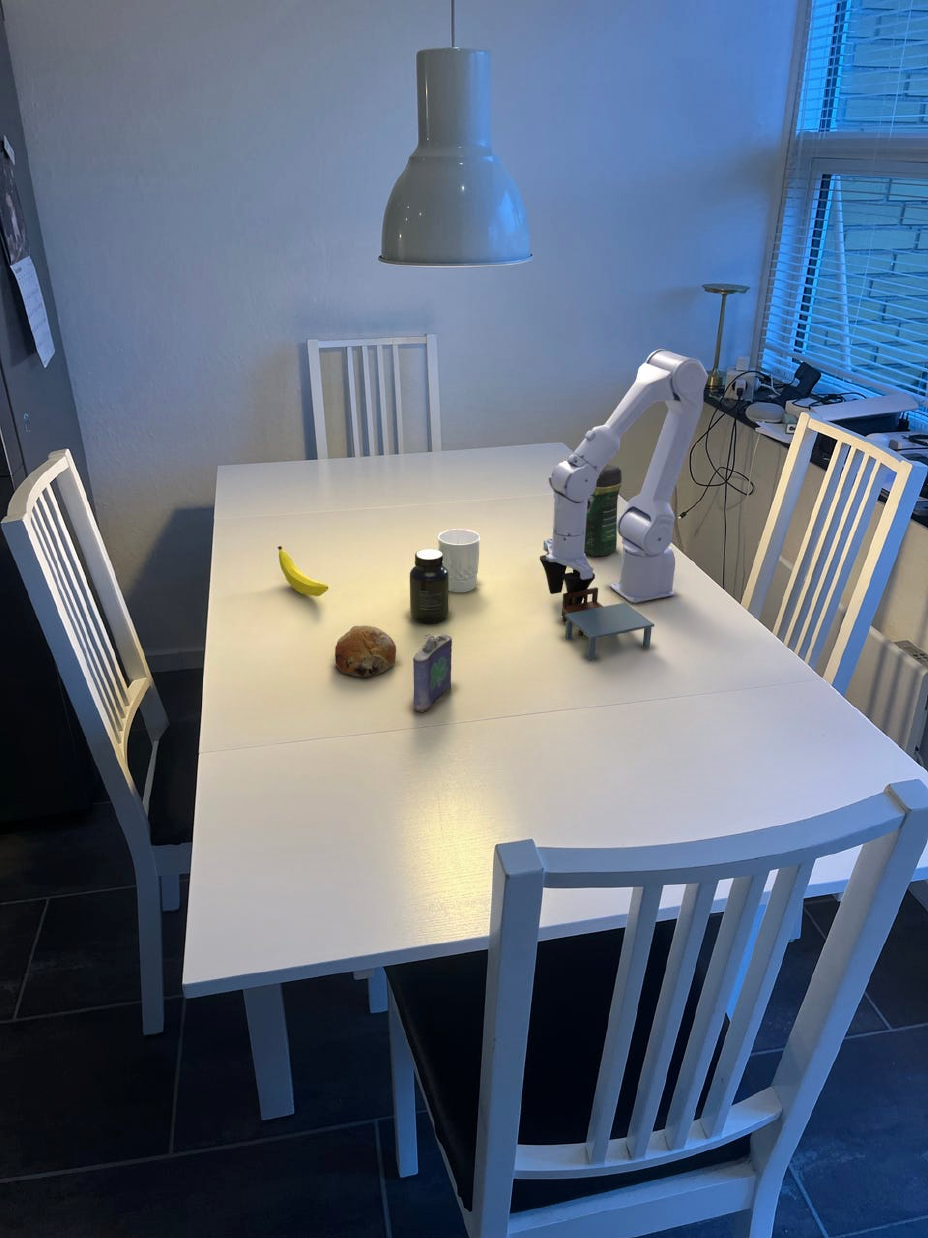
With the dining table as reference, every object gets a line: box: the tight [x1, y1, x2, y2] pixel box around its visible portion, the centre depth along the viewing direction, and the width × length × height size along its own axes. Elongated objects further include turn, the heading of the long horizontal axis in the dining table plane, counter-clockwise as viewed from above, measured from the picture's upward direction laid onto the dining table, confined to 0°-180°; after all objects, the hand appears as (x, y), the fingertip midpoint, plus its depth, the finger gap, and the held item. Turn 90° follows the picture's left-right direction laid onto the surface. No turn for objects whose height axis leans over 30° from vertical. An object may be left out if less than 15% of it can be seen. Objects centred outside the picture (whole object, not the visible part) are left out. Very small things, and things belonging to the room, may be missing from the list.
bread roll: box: [334, 625, 397, 678], centre depth 154 cm, size 10×10×8 cm
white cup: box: [437, 528, 481, 593], centre depth 180 cm, size 8×8×10 cm
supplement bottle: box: [409, 548, 450, 625], centre depth 168 cm, size 7×7×12 cm
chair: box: [560, 586, 604, 638], centre depth 166 cm, size 7×7×6 cm
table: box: [564, 602, 655, 661], centre depth 161 cm, size 12×9×4 cm
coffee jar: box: [584, 463, 623, 557], centre depth 195 cm, size 10×8×19 cm
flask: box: [412, 633, 453, 713], centre depth 143 cm, size 9×3×11 cm, turn 151°
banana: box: [277, 545, 329, 597], centre depth 177 cm, size 3×19×6 cm, turn 36°
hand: (564, 600), depth 174 cm, fingers open, 6 cm apart
